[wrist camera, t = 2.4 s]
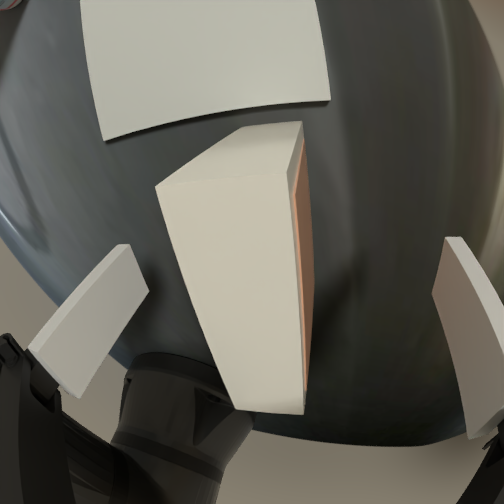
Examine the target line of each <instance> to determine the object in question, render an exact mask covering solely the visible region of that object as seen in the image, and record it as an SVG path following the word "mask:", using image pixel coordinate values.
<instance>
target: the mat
mask: <svg viewBox="0 0 504 504" xmlns="http://www.w3.org/2000/svg"><path fill="white" fill-rule="evenodd" d="M80 5H81V17H82V27H83V36H84V44H85V51H86V58H87V64H88V70H89V76H90V82H91V87H92V92H93V97H94V102H95V107H96V111H97V116H98V120H99V124H100V129H101V133H102V137H103V141H105V140H108V139H112V138H115V137H118V136H121V135H124V134H128V133H131V132H135V131H138V130H142V129H145V128H149V127H153V126H157V125H160V124H164V123H169V122H173V121H177V120H182V119H186V118H191V117H195V116H200V115H206V114H211V113H216V112H222V111H228V110H234V109H241V108H248V107H255V106H263V105H272V104H282V103H293V102H306V101H324V100H331V97H330V88H329V81H328V73H327V66H326V59H325V53H324V47H323V41H322V35H321V29H320V24H319V19H318V14H317V9H316V4H315V0H80Z"/></svg>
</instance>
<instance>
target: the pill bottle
mask: <svg viewBox="0 0 504 504" xmlns="http://www.w3.org/2000/svg"><path fill="white" fill-rule="evenodd" d="M21 1H22V0H0V10H8V9H11V8H13V7H15V6H16V5H18V4H19V3H20V2H21Z"/></svg>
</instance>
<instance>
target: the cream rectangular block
mask: <svg viewBox="0 0 504 504" xmlns="http://www.w3.org/2000/svg"><path fill="white" fill-rule="evenodd" d="M155 188H156V192H157V195H158V199H159V202H160V206H161V209H162V213H163V216H164V219H165V223H166V226H167V229H168V232H169V236H170V239H171V242H172V245H173V248H174V251H175V254H176V257H177V260H178V263H179V266H180V269H181V272H182V275H183V278H184V281H185V284H186V287H187V290H188V292H189V295H190V298H191V301H192V303H193V306H194V309H195V312H196V314H197V317H198V320H199V322H200V325H201V328H202V330H203V333H204V335H205V338H206V340H207V343H208V345H209V348H210V350H211V353H212V355H213V358H214V360H215V363H216V365H217V368H218V370H219V372H220V375H221V377H222V379H223V382H224V384H225V386H226V389H227V391H228V393H229V396H230V398H231V400H232V402H233V405H234V407H235V409H238V410H247V411H256V412H268V413H281V414H301V415H304V407H305V398H306V390H307V380H308V370H309V358H310V346H311V332H312V317H313V299H314V261H313V240H312V223H311V208H310V194H309V182H308V171H307V160H306V150H305V141H304V135H303V126H302V121H295V122H282V123H272V124H263V125H254V126H246V127H242V128H240V129H238V130H237V131H235V132H233V133H232V134H230V135H229V136H227V137H226V138H224V139H222V140H221V141H219V142H218V143H216V144H215V145H213V146H212V147H210V148H209V149H207V150H206V151H204V152H203V153H201V154H200V155H198V156H197V157H196V158H194V159H193V160H191V161H190V162H188V163H187V164H186V165H184V166H183V167H181V168H180V169H179V170H177V171H176V172H174V173H173V174H172V175H170V176H169V177H168V178H166V179H165V180H163V181H162V182H161V183H159V184H158V185H157V186H156V187H155Z"/></svg>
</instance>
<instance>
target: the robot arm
mask: <svg viewBox="0 0 504 504" xmlns="http://www.w3.org/2000/svg"><path fill="white" fill-rule="evenodd" d="M148 292H149V290H148V287H147V285H146V283H145V280H144V278H143V276H142V273H141V271H140V269H139V266H138V264H137V261H136V259H135V256H134V254H133V251H132V249H131V246H130V244H120V245H117V246H116V247H115V248H114V249H113V250H112V251H111V252H110V253H109V254H108V255H107V256H106V257H105V258H104V259H103V260H102V261H101V262H100V263H99V264H98V265H97V266H96V267H95V268H94V269H93V270H92V272H91V273H90V274H89V275H88V276H87V277H86V278H85V279H84V280H83V281H82V282H81V283H80V285H79V286H78V287H77V288H76V289H75V290H74V291H73V292H72V294H71V295H70V296H69V297H68V298H67V299H66V300H65V302H64V303H63V304H62V305H61V306H60V307H59V309H58V310H57V311H56V312H55V314H54V315H53V316H52V317H51V318H50V319H49V321H48V322H47V323H46V324H45V326H44V327H43V328H42V329H41V331H40V332H39V333H38V334H37V336H36V337H35V338H34V339H33V341H32V342H31V343H30V345H29V346H28V347H27V349H26V350H25V351H23V349H22V348H21V347H20V346H19V344H18V343H17V342H16V340H15V339H14V338H13V337H12V335H11V334H10V333H6V334H3V335H1V336H0V504H215V503H216V499H217V495H218V492H219V488H220V484H221V480H222V477H223V474H224V470H225V468H226V466H227V464H228V462H229V461H230V460H231V458H232V457H233V455H234V454H235V453H236V451H237V450H238V448H239V447H240V445H241V444H242V443H243V441H244V440H245V438H246V437H247V435H248V434H249V432H250V431H251V429H252V427H253V425H254V422H255V418H256V413H257V412H256V411H247V410H238V409H235V407H234V405H233V402H232V400H231V398H230V396H229V393H228V391H227V389H226V386H225V384H224V382H223V379H222V377H221V375H220V372H219V370H217V369H215V368H213V367H210V366H208V365H205V364H203V363H200V362H197V361H195V360H192V359H188V358H185V357H181V356H177V355H172V354H165V353H147V354H142V355H140V356H138V357H136V358H135V359H134V360H133V362H132V364H131V366H130V367H129V369H128V371H127V373H126V375H125V378H124V387H123V392H122V400H121V407H120V417H119V424H118V428H117V430H116V432H115V434H114V436H113V438H112V440H111V443H110V444H109V443H107V442H106V441H104V440H103V439H101V438H100V437H98V436H97V435H95V434H93V433H92V432H91V431H89V430H88V429H86V428H85V427H84V426H82V425H81V424H79V423H78V422H77V421H75V420H74V419H72V418H71V417H70V416H68V415H67V414H66V413H65V412H63V411H62V404H61V394H60V391H58V389H57V388H58V386H59V385H60V386H61V387H62V388H63V389H64V390H65V391H66V392H67V393H68V394H70V395H72V396H74V397H76V398H78V399H80V398H81V396H82V395H83V393H84V391H85V390H86V388H87V386H88V385H89V383H90V381H91V380H92V378H93V376H94V374H95V373H96V371H97V370H98V368H99V367H100V365H101V363H102V362H103V360H104V359H105V357H106V355H107V354H108V352H109V351H110V349H111V348H112V346H113V345H114V343H115V341H116V340H117V338H118V337H119V335H120V334H121V332H122V331H123V329H124V328H125V326H126V325H127V323H128V322H129V320H130V319H131V317H132V316H133V314H134V313H135V311H136V310H137V308H138V307H139V305H140V304H141V303H142V301H143V300H144V298H145V297H146V295H147V294H148ZM432 296H433V299H434V302H435V305H436V307H437V310H438V313H439V316H440V319H441V322H442V325H443V329H444V332H445V335H446V338H447V342H448V345H449V349H450V352H451V356H452V360H453V363H454V367H455V371H456V376H457V380H458V384H459V389H460V394H461V399H462V404H463V409H464V415H465V421H466V428H467V435H468V439H473V438H476V437H480V436H484V435H487V434H489V433H490V432H491V431H492V430H493V429H494V428H495V427H496V426H497V427H498V432H499V433H498V434H497V435H496V436H495V437H494V438H492V439H491V440H490V441H489V442H487V443H486V445H485V446H484V447H483V448H482V449H484V450H485V449H486V448H488V447H489V446H490V445H491V446H490V448H489V450H488V452H487V454H486V456H485V458H484V460H483V461H482V463H481V465H480V467H479V469H478V470H477V472H476V474H475V476H474V477H473V479H472V480H471V482H470V484H469V485H468V487H467V489H466V490H465V492H464V493H463V494H462V496H461V498H460V499H459V500H458V502H457V503H456V504H504V306H503V305H502V303H501V301H500V299H499V297H498V295H497V293H496V292H495V290H494V288H493V286H492V284H491V283H490V281H489V279H488V278H487V276H486V274H485V273H484V271H483V269H482V268H481V266H480V264H479V263H478V261H477V260H476V258H475V257H474V255H473V253H472V252H471V250H470V249H469V247H468V246H467V244H466V243H465V242H464V240H463V239H462V237H445V240H444V245H443V250H442V254H441V259H440V263H439V267H438V272H437V276H436V279H435V283H434V287H433V291H432Z"/></svg>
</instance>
